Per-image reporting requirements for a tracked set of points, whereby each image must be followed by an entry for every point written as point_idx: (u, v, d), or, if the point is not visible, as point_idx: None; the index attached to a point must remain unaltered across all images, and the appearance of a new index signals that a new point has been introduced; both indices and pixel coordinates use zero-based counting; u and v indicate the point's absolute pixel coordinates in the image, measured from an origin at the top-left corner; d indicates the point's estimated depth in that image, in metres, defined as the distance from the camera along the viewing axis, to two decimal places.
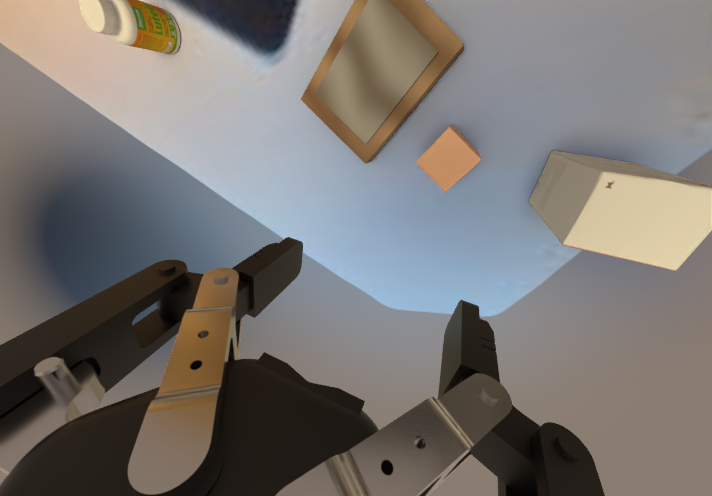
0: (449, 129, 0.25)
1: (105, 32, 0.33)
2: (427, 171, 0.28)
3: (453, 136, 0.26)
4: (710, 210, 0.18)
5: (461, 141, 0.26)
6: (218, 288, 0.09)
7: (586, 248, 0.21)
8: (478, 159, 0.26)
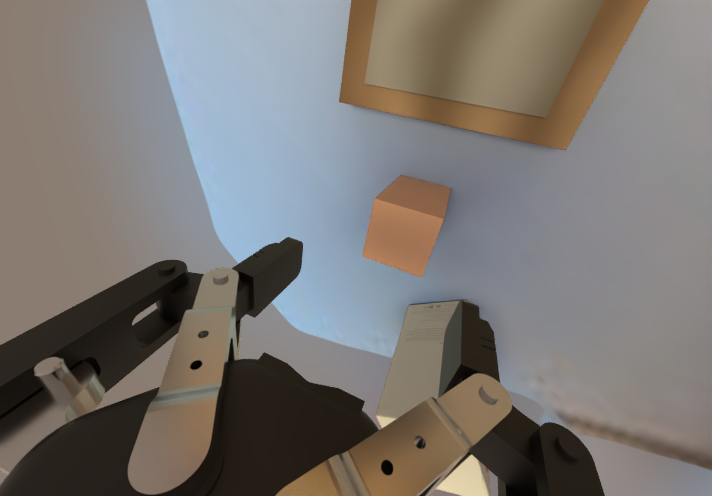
0: (440, 221, 0.16)
1: None
2: (372, 221, 0.18)
3: (434, 230, 0.16)
4: (467, 490, 0.18)
5: (432, 244, 0.17)
6: (218, 288, 0.09)
7: None
8: (420, 274, 0.18)
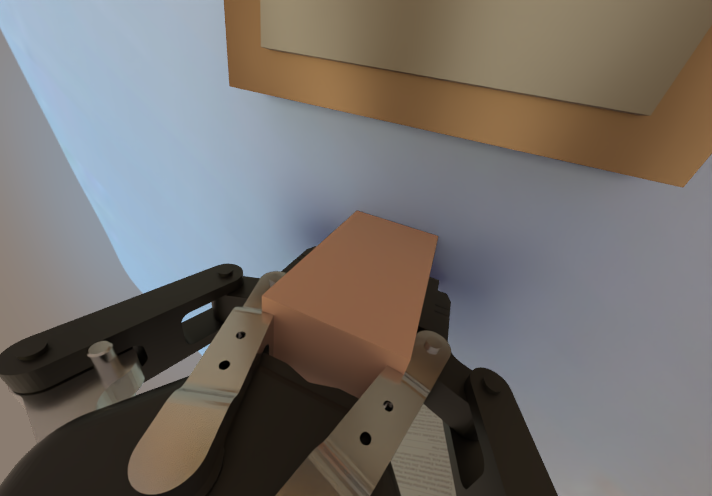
0: (403, 361, 0.07)
1: None
2: None
3: None
4: None
5: None
6: None
7: None
8: None
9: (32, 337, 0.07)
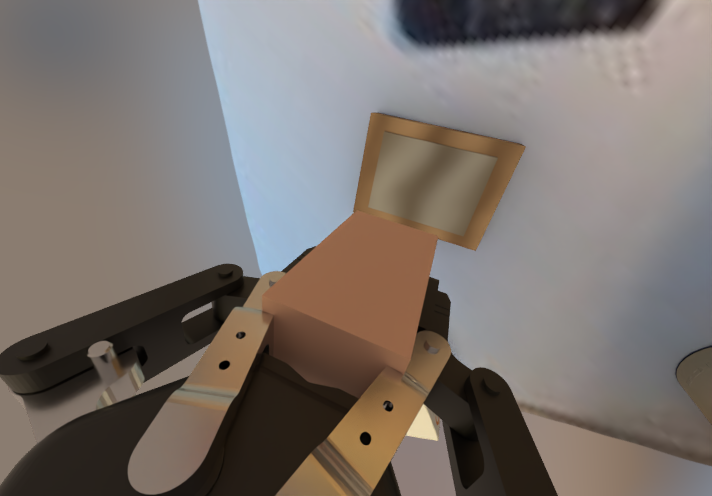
0: (403, 361, 0.07)
1: None
2: None
3: None
4: (426, 434, 0.33)
5: None
6: None
7: None
8: None
9: (33, 336, 0.07)
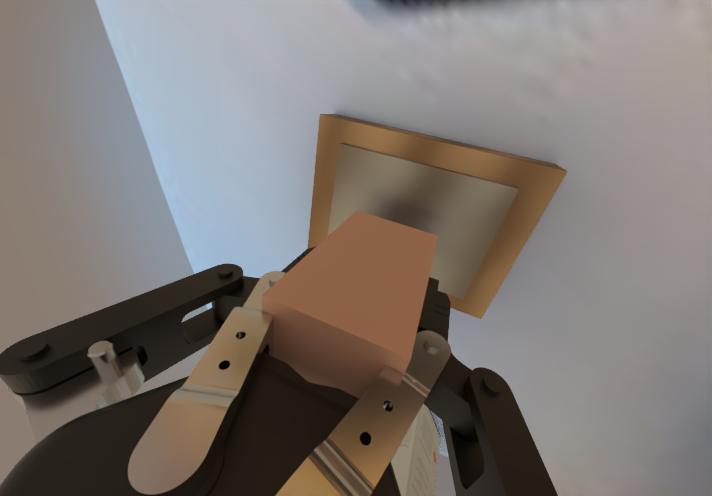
0: (403, 361, 0.07)
1: None
2: None
3: None
4: None
5: None
6: None
7: None
8: None
9: (33, 337, 0.07)
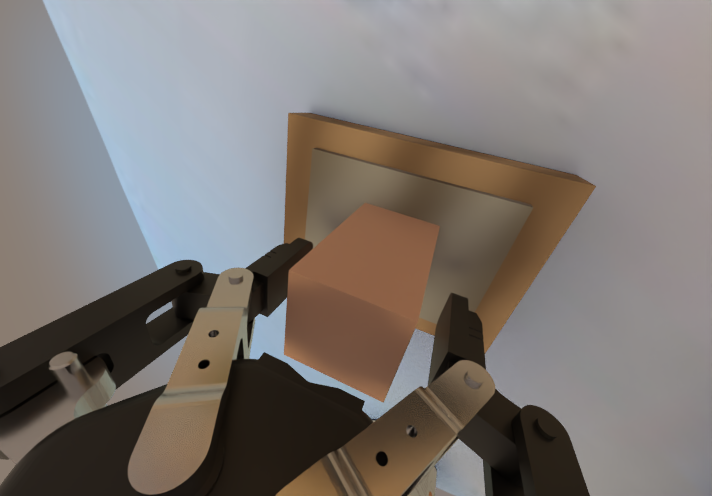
0: (411, 323, 0.08)
1: None
2: (291, 306, 0.10)
3: (399, 337, 0.08)
4: None
5: (398, 358, 0.09)
6: (233, 288, 0.09)
7: None
8: (380, 397, 0.10)
9: None
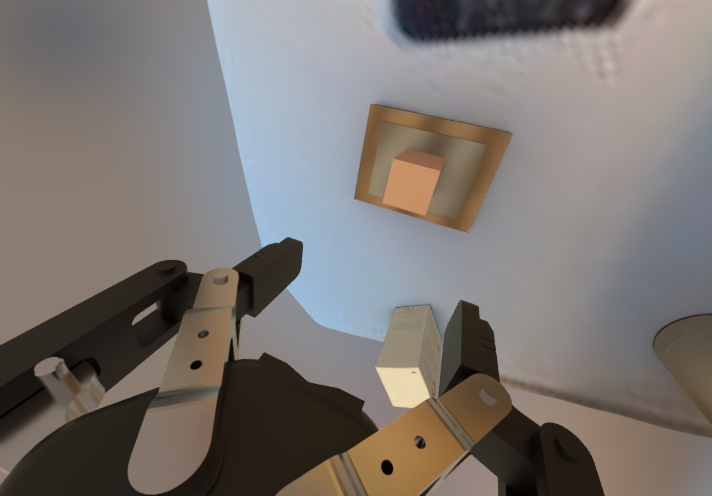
0: (438, 172, 0.24)
1: None
2: (391, 175, 0.25)
3: (433, 179, 0.24)
4: None
5: (432, 189, 0.25)
6: (218, 289, 0.09)
7: (380, 376, 0.36)
8: (424, 213, 0.26)
9: None
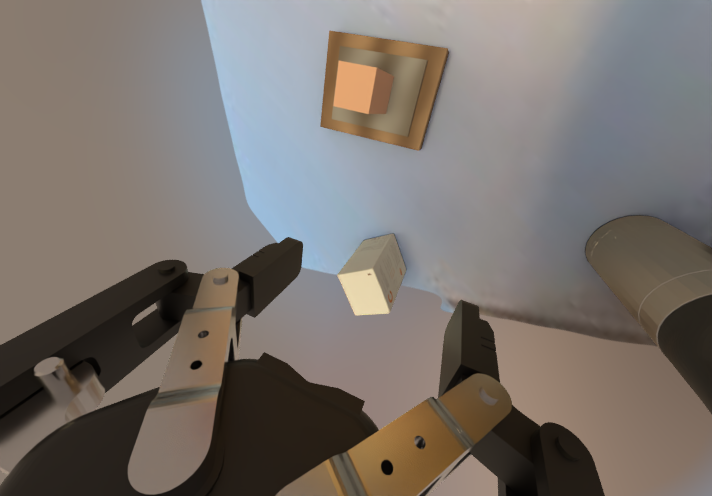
0: (375, 69, 0.28)
1: None
2: (338, 77, 0.30)
3: (372, 76, 0.28)
4: (380, 309, 0.40)
5: (372, 87, 0.29)
6: (218, 288, 0.09)
7: (342, 284, 0.40)
8: (367, 111, 0.30)
9: None
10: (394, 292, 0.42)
